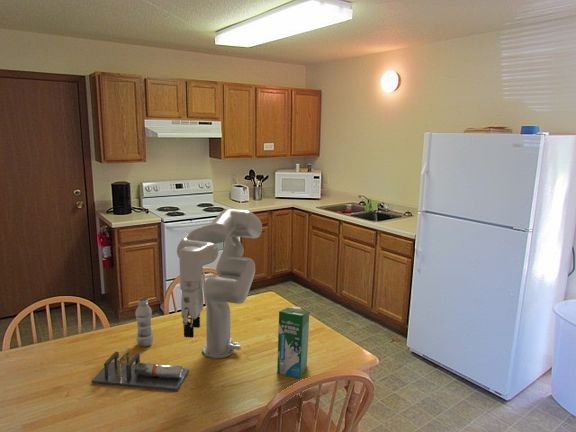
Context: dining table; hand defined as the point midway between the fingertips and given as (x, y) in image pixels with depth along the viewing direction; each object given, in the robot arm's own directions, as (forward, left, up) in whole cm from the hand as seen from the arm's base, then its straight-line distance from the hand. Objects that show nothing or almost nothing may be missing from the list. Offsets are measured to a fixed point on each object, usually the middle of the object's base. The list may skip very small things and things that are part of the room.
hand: (192, 331), depth 145 cm
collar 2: (+22, 0, -18) cm, 29 cm away
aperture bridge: (+26, 0, -18) cm, 31 cm away
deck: (+19, 0, -20) cm, 27 cm away
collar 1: (+30, 0, -18) cm, 35 cm away
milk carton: (-35, -13, -20) cm, 42 cm away
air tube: (+12, 0, -18) cm, 22 cm away
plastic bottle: (+27, -22, -20) cm, 40 cm away
